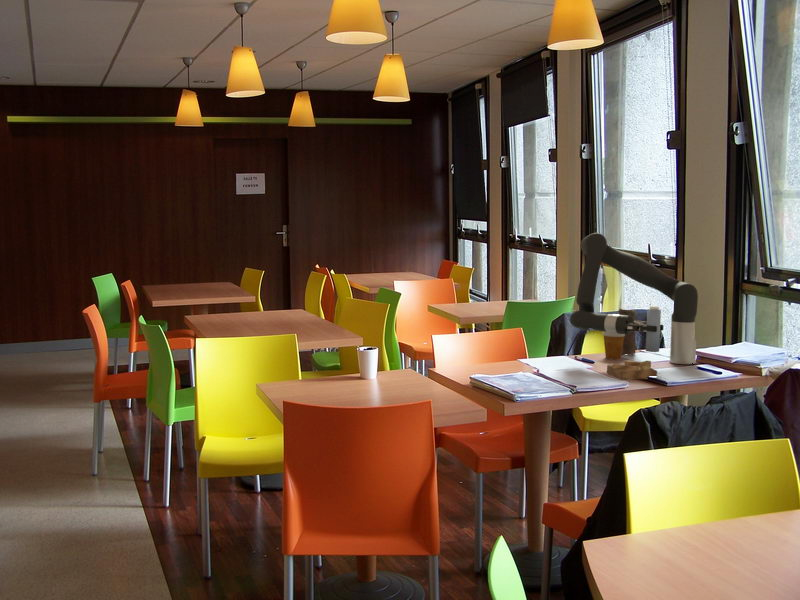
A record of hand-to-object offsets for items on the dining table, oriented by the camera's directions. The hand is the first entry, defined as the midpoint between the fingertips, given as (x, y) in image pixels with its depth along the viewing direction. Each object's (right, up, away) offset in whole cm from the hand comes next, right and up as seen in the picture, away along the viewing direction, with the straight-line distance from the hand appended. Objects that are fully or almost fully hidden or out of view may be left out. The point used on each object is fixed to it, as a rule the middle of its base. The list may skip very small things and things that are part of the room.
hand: (659, 328), depth 318 cm
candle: (+1, -13, +49) cm, 51 cm away
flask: (-2, -9, +3) cm, 9 cm away
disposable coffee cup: (-8, -14, +38) cm, 41 cm away
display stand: (-11, -18, -1) cm, 21 cm away
